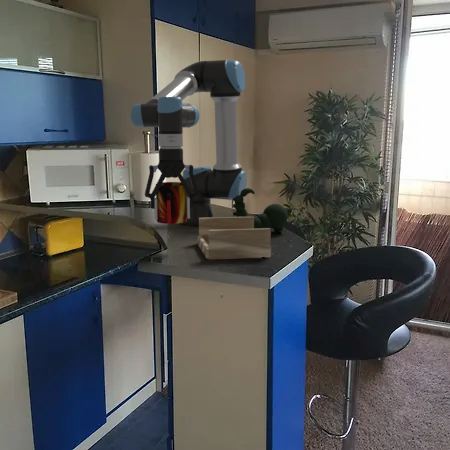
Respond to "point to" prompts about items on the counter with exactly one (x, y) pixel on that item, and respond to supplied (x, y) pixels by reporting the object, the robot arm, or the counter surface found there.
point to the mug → (171, 203)
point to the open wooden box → (233, 238)
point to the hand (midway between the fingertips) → (172, 218)
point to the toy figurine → (269, 218)
